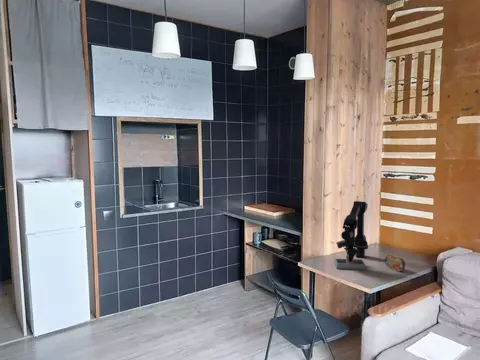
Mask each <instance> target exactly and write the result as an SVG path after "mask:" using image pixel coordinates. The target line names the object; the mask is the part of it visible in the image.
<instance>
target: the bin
mask: <svg viewBox="0 0 480 360" xmlns="http://www.w3.org/2000/svg"><path fill="white" fill-rule="evenodd" d="M333 264H334V266H335V269H336V270H354V271H356V270H357V271H359V270H360V271H365V270H366V263H365V262H364V261H363V259H355V258H354V259H353V264H346V258H334V263H333Z"/></svg>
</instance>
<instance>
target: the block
mask: <svg viewBox="0 0 480 360" xmlns="http://www.w3.org/2000/svg"><path fill="white" fill-rule="evenodd" d="M345 259H346V264H353V259H355V257H354V258H353V259H352V261H351V262H349V256H348V255H347V254H346V255H345Z"/></svg>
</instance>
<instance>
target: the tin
mask: <svg viewBox="0 0 480 360" xmlns="http://www.w3.org/2000/svg"><path fill="white" fill-rule="evenodd" d="M384 263H385V265H386V267H387V268H388V269H391V270H394V271H396V272H403V271H405V269H406V261H405V259H403V258H402V257H399V256H397V255H393V254H387V255H386V256H385V258H384Z"/></svg>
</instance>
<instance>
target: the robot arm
mask: <svg viewBox="0 0 480 360" xmlns="http://www.w3.org/2000/svg"><path fill="white" fill-rule="evenodd" d="M368 206H369V205H368V203H367V201H361V200H360V201H358V200H354V201H353V205H352V208H351V210H350V212H349V214H348V215H346V216H345V218H344V220H343V225H342V230H343V229H344V231H343V232H341V234H340V236H341V238H342V240H340V241H339V240H338V241H337V242H336V245H337V248H338V249H341V248H343V249H344V250H345V252H346V255H348V256H349V262H351V261H352V259H353V258H354V259H355V257H356V258H367V256H366V250H368V249H369V245H368V240H367V237H366V235H365V234H364V233H365V213H366V212H367V209H368Z"/></svg>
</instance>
